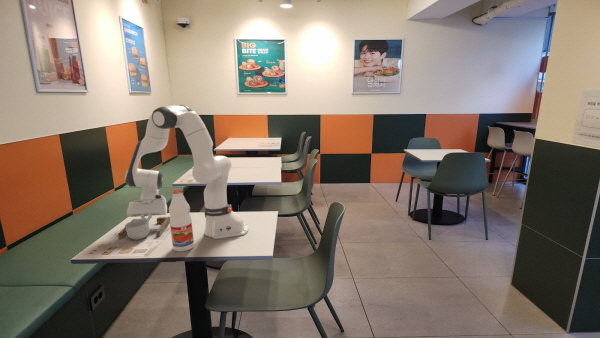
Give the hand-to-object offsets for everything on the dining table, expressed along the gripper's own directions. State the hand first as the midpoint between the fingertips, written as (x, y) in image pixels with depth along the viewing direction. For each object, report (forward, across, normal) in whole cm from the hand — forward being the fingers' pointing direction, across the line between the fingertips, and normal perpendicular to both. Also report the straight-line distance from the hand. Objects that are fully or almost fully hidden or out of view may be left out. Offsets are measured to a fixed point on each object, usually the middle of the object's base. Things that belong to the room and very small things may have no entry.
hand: (145, 222), depth 175 cm
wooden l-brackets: (+3, 0, +3) cm, 4 cm away
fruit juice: (+20, +25, -14) cm, 35 cm away
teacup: (+8, 0, -2) cm, 9 cm away
